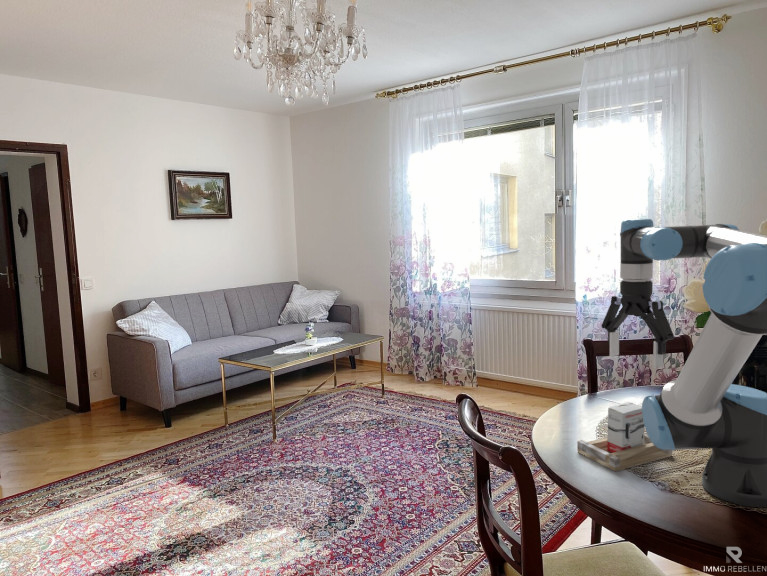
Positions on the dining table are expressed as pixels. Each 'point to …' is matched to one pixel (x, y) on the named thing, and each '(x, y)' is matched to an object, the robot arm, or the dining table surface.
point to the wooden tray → (622, 453)
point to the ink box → (625, 427)
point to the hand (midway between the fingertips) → (635, 361)
